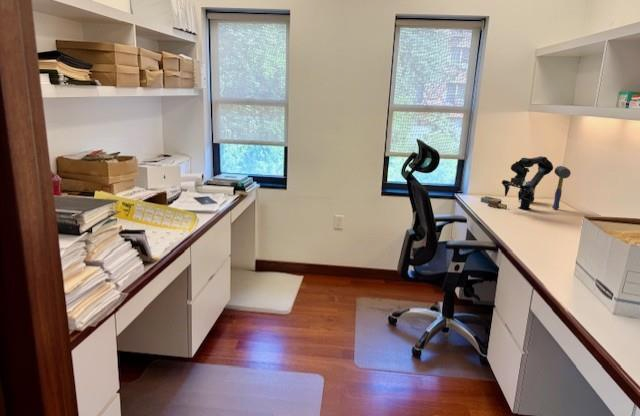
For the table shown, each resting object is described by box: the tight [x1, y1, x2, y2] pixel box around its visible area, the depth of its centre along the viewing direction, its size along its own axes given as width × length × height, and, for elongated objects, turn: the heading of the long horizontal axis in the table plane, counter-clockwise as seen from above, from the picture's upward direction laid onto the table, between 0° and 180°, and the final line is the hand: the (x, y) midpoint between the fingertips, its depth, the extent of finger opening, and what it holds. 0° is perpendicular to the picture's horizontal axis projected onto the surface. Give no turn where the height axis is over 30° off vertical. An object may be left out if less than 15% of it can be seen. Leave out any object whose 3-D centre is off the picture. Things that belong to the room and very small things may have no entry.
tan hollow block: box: [487, 198, 503, 209], centre depth 301 cm, size 7×6×4 cm
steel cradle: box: [480, 195, 502, 204], centre depth 312 cm, size 8×11×3 cm
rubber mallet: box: [552, 165, 572, 211], centre depth 297 cm, size 12×8×30 cm, turn 168°
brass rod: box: [497, 203, 508, 210], centre depth 299 cm, size 11×3×3 cm, turn 44°
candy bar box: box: [518, 179, 536, 204], centre depth 316 cm, size 11×5×16 cm, turn 119°
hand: (512, 198), depth 287 cm, fingers open, 9 cm apart
